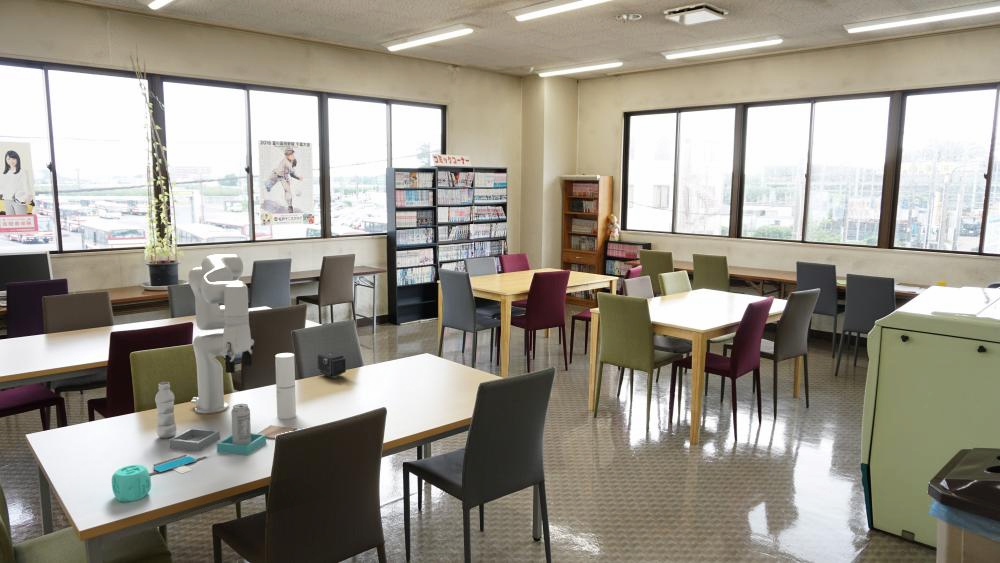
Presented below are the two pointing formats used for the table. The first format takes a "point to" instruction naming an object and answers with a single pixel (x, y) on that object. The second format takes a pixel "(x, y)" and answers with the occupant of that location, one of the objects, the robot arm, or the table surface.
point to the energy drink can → (241, 424)
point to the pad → (275, 431)
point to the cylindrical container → (285, 385)
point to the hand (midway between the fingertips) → (238, 368)
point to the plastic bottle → (165, 411)
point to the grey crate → (182, 442)
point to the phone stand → (175, 464)
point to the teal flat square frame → (229, 447)
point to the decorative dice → (131, 483)
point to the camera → (331, 364)
